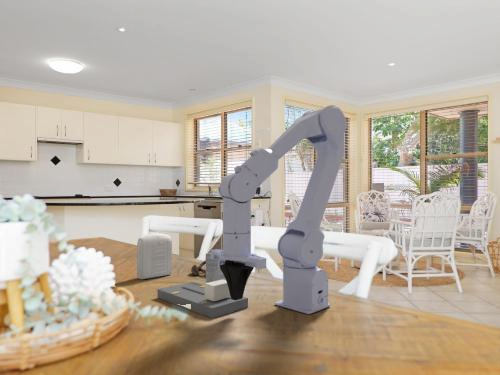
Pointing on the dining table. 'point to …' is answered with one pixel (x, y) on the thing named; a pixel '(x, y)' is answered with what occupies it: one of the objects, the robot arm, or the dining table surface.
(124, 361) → the dining table surface
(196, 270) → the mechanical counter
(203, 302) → the board
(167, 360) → the dining table surface
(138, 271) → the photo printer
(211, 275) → the medicine box
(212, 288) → the fader
